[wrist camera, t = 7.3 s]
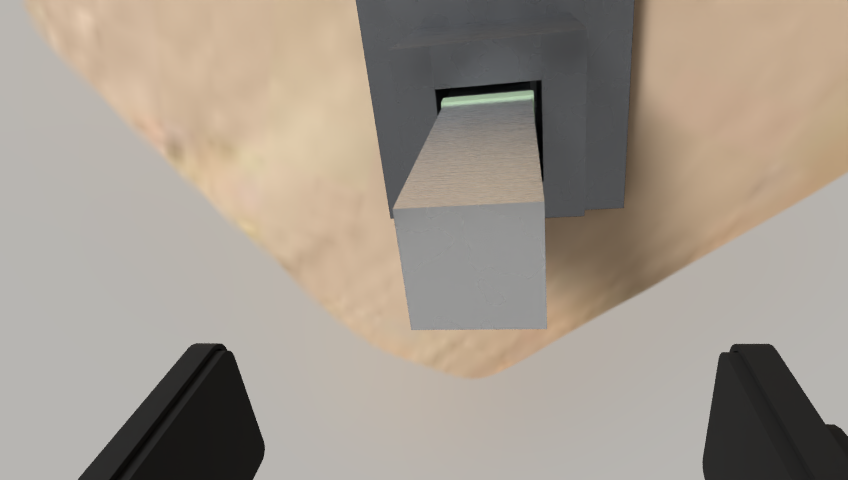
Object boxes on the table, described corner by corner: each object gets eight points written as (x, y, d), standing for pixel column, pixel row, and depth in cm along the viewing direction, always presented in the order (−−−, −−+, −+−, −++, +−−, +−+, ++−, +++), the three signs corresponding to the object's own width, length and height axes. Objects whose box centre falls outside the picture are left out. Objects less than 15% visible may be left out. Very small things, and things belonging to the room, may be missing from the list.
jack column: (531, 76, 28) (548, 197, 14) (533, 155, 30) (550, 331, 16) (450, 84, 29) (388, 205, 14) (457, 160, 30) (408, 332, 16)
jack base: (632, -65, 30) (681, -75, 21) (619, 199, 37) (652, 273, 28) (357, -28, 33) (301, -23, 24) (394, 210, 40) (361, 280, 31)
